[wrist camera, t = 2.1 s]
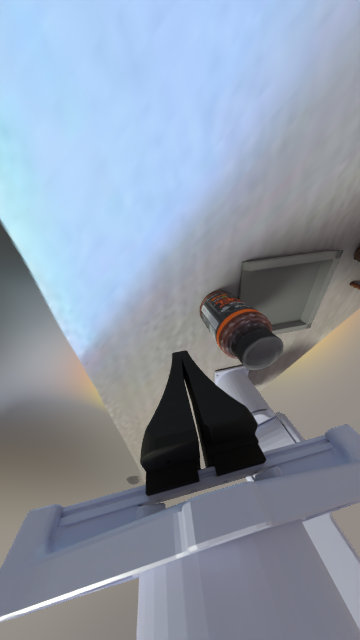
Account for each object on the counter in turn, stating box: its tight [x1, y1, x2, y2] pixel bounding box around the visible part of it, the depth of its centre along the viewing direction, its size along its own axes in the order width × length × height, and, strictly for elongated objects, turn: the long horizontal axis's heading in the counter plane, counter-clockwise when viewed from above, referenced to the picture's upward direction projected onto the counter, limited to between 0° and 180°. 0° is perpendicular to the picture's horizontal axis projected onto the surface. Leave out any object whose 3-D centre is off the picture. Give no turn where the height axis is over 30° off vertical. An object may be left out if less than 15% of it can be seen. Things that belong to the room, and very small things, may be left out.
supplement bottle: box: [200, 291, 283, 370], centre depth 17 cm, size 6×6×11 cm
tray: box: [238, 250, 343, 335], centre depth 22 cm, size 13×14×2 cm
